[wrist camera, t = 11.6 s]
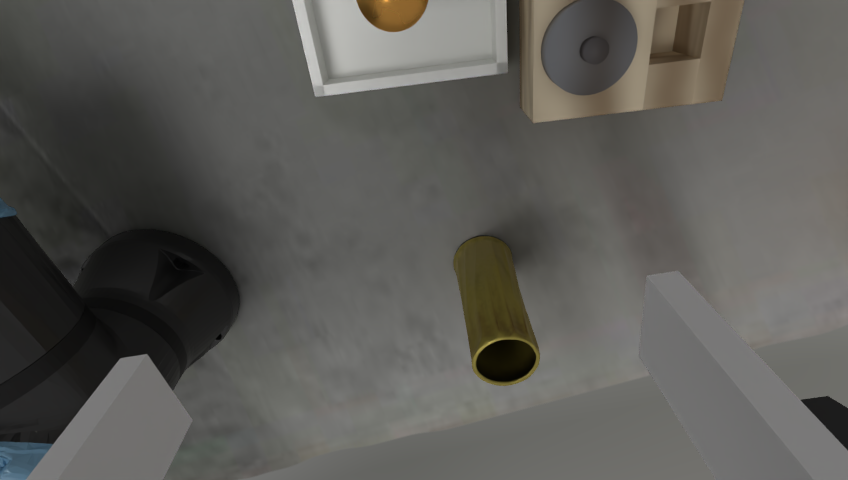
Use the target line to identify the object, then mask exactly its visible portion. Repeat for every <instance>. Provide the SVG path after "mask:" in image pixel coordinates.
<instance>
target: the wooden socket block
mask: <svg viewBox="0 0 848 480" xmlns="http://www.w3.org/2000/svg"><path fill="white" fill-rule="evenodd" d="M743 4H744V0H519V24H520V108H521V109H522V110H523V111H524V113H525V114H526V115H527V116H528V118H529V119H530V120H531V121H532V122H533V123H538V122H547V121H555V120H563V119H572V118H580V117H588V116H597V115H605V114H614V113H622V112H630V111H639V110H647V109H655V108H664V107H672V106H681V105H689V104H697V103H706V102H714V101H722V98H723V94H724V89H725V85H726V80H727V76H728V71H729V67H730V62H731V58H732V53H733V49H734V45H735V40H736V36H737V31H738V27H739V22H740V18H741V13H742V9H743Z"/></svg>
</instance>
